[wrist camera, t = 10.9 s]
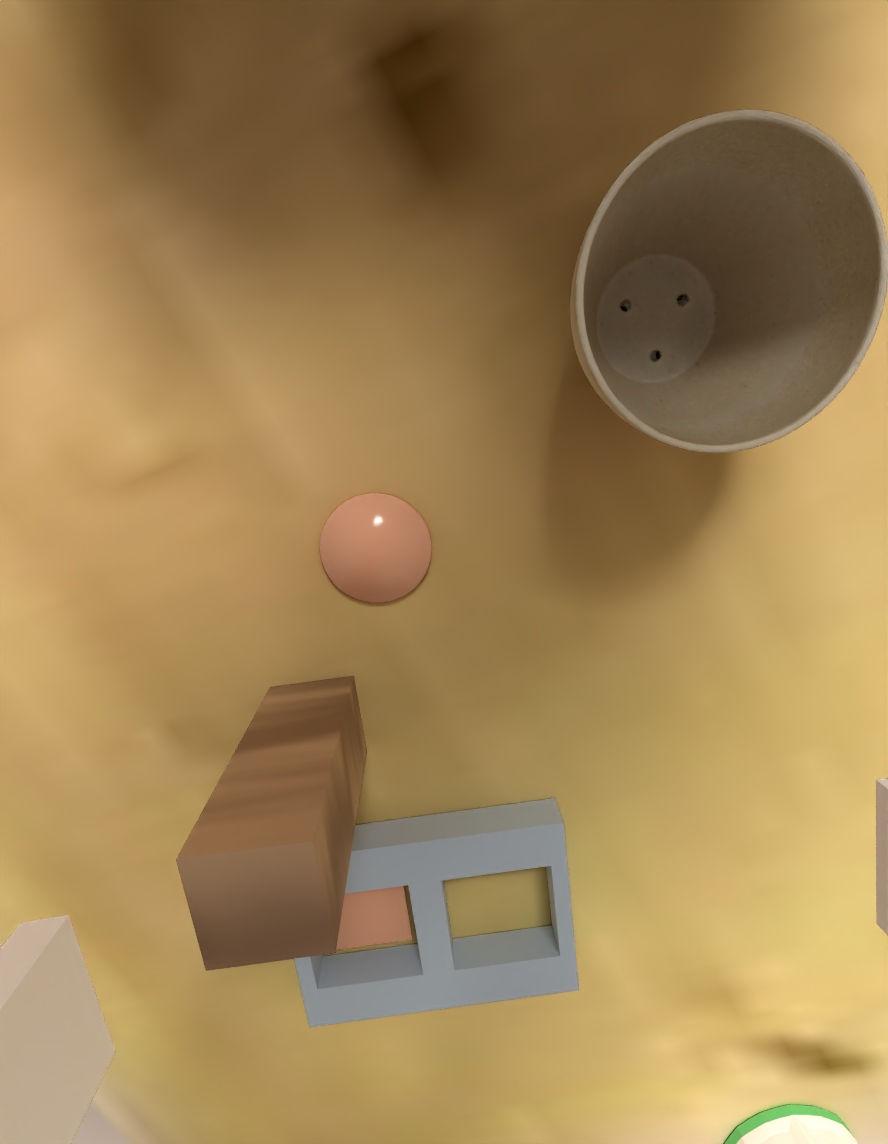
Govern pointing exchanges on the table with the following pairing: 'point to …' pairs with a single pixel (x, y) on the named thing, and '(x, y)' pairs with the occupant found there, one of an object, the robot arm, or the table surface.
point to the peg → (279, 830)
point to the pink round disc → (375, 547)
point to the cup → (792, 1127)
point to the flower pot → (730, 281)
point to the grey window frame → (442, 917)
